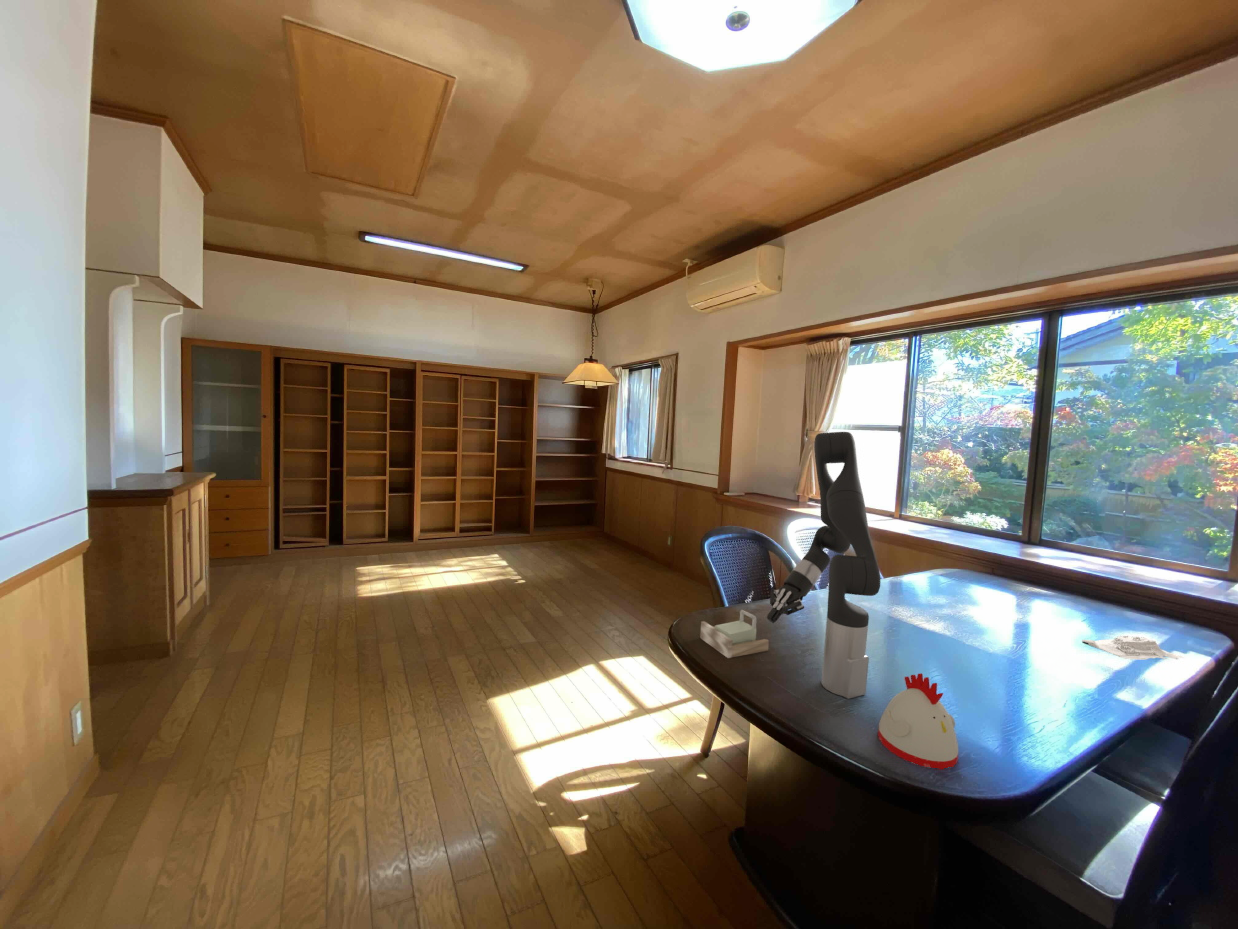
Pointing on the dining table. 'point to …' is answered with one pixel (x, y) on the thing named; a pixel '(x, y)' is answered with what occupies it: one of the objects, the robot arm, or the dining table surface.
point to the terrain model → (1132, 648)
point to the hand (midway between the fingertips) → (769, 620)
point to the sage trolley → (739, 629)
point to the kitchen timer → (919, 726)
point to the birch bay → (730, 642)
